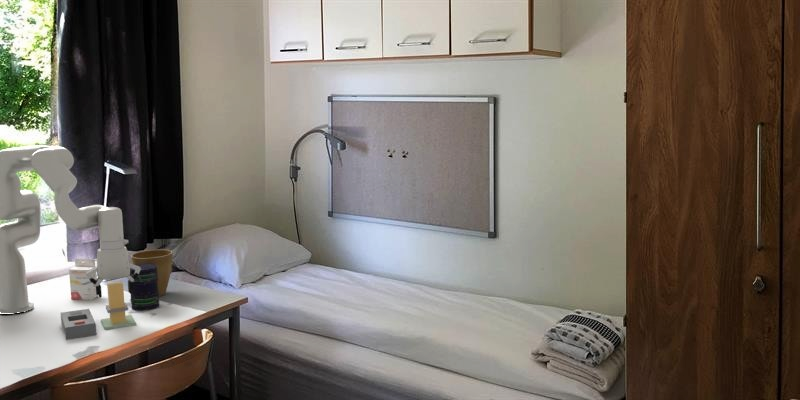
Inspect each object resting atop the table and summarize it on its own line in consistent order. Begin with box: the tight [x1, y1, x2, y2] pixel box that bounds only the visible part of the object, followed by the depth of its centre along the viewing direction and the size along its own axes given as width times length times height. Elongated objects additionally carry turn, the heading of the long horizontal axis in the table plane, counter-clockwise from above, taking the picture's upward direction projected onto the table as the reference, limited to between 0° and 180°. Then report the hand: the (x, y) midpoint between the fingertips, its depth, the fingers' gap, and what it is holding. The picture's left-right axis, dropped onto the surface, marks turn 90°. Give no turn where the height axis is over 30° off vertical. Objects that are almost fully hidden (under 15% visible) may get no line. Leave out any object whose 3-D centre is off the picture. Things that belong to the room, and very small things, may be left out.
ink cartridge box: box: [68, 258, 99, 301], centre depth 294 cm, size 9×5×15 cm, turn 84°
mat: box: [100, 314, 137, 331], centre depth 264 cm, size 10×10×1 cm
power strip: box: [60, 308, 97, 340], centre depth 258 cm, size 18×9×5 cm, turn 28°
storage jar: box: [130, 263, 161, 312], centre depth 281 cm, size 10×10×15 cm
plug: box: [105, 280, 129, 324], centre depth 263 cm, size 6×6×13 cm
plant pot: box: [130, 249, 174, 297], centre depth 297 cm, size 15×15×16 cm
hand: (115, 294), depth 263 cm, fingers open, 9 cm apart
